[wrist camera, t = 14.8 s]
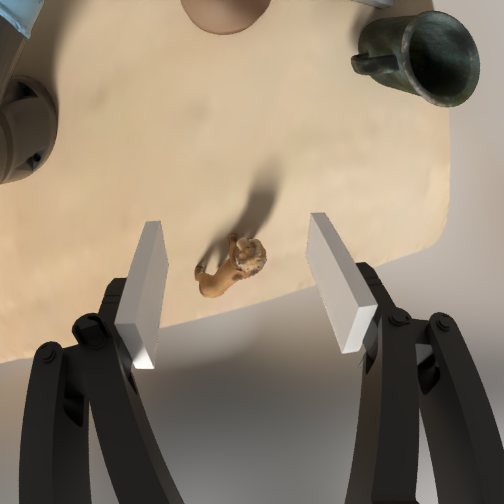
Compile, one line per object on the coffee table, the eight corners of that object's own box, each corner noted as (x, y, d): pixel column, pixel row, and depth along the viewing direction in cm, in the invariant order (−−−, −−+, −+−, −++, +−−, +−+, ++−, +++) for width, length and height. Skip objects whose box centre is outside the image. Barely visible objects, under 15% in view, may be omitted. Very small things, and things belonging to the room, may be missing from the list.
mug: (429, 83, 33) (485, 101, 23) (343, 102, 35) (388, 123, 25) (411, 13, 27) (469, 11, 17) (318, 26, 28) (359, 15, 19)
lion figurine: (239, 209, 43) (244, 245, 35) (269, 227, 45) (280, 265, 38) (187, 277, 49) (183, 318, 42) (214, 290, 51) (215, 331, 44)
